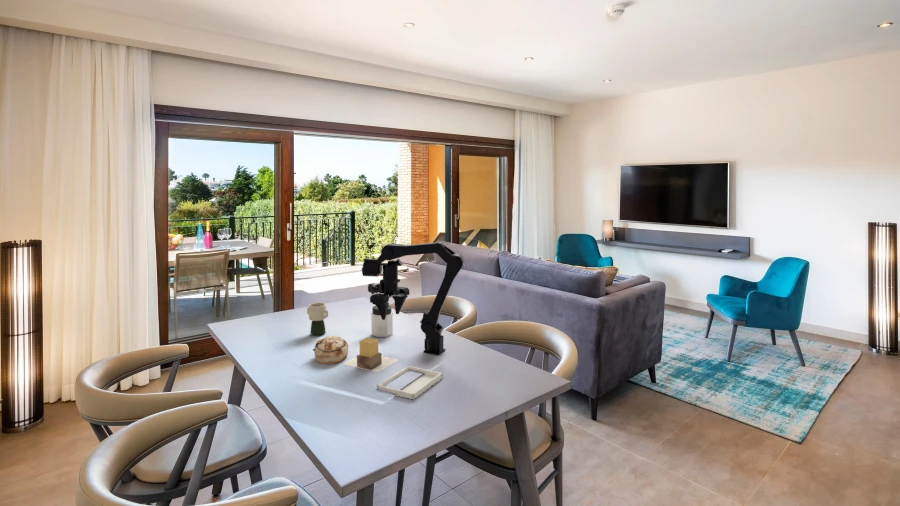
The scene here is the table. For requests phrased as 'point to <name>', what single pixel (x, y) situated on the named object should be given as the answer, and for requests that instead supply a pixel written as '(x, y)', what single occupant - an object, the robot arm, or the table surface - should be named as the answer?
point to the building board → (385, 363)
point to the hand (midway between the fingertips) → (390, 316)
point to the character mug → (317, 317)
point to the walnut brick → (369, 361)
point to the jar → (381, 323)
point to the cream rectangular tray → (413, 383)
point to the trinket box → (331, 350)
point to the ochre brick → (368, 347)
